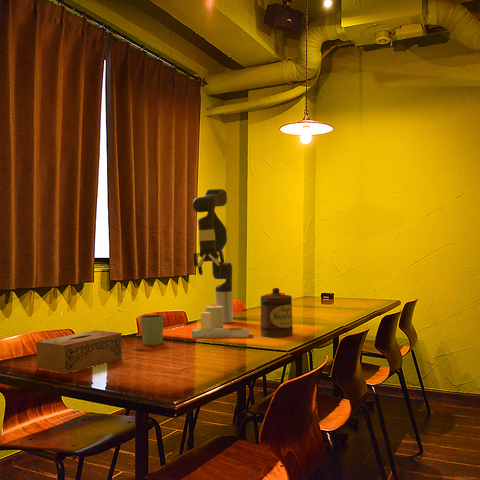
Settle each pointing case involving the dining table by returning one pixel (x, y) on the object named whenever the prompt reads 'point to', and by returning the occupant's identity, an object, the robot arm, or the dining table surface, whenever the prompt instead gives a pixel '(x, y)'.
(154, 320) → the grey green cup
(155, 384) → the dining table surface
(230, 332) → the rail
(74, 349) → the tissue box cover
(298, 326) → the dining table surface
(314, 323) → the dining table surface
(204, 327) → the block
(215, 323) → the can
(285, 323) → the wooden container
